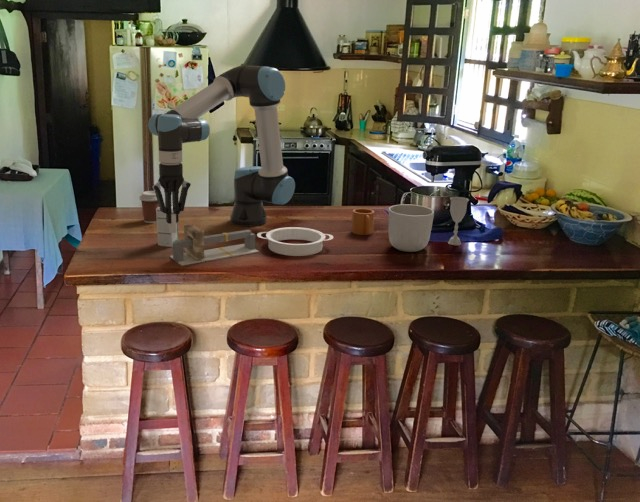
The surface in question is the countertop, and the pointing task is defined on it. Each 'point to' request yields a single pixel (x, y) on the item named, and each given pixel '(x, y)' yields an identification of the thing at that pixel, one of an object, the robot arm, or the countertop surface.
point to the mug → (362, 221)
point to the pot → (295, 233)
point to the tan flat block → (194, 241)
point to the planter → (409, 226)
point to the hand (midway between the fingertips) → (172, 231)
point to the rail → (217, 252)
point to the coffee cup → (149, 206)
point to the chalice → (457, 215)
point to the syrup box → (165, 230)
